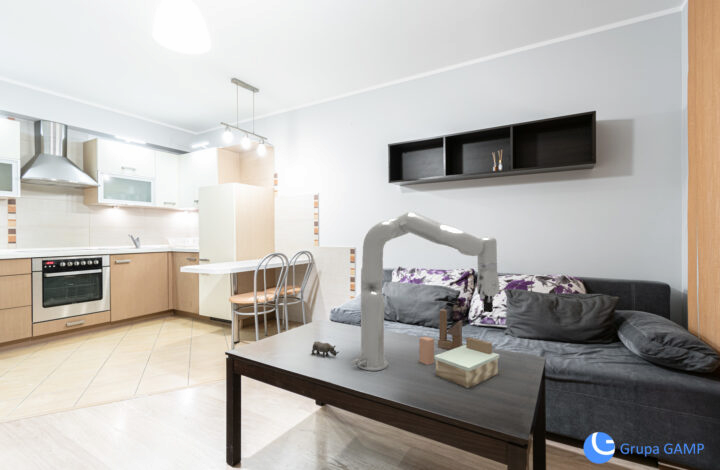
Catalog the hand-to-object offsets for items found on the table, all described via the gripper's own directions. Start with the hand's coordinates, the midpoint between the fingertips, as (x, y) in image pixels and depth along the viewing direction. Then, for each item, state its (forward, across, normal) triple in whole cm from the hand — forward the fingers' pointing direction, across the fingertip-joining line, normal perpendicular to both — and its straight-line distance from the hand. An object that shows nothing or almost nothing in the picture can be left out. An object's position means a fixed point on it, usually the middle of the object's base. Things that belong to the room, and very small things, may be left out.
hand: (488, 311), depth 135 cm
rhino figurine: (+21, -47, +52) cm, 73 cm away
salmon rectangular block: (+22, -18, +18) cm, 33 cm away
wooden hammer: (+22, +4, +22) cm, 32 cm away
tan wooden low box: (+22, -16, 0) cm, 27 cm away
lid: (+16, -15, 0) cm, 22 cm away
